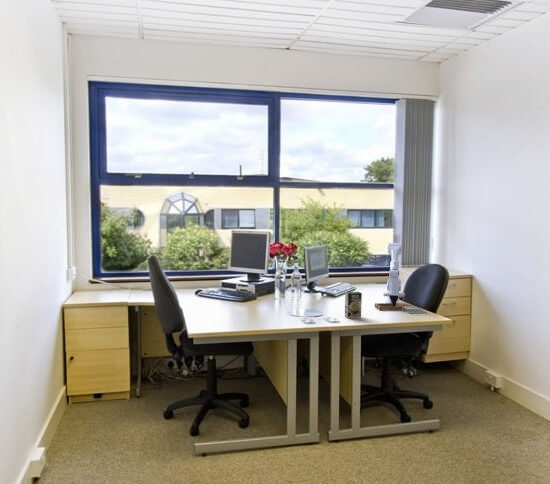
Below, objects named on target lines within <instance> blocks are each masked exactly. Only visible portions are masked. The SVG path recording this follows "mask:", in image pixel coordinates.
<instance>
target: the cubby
mask: <svg viewBox="0 0 550 484" xmlns="http://www.w3.org/2000/svg"><path fill="white" fill-rule="evenodd" d="M374 308H376V309H377V310H379V311H380V312H382V311H381V310H390V311H403V309H402V306H392V303H387V302H383V303H382V302H380V303H375V302H374Z"/></svg>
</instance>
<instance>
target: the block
mask: <svg viewBox="0 0 550 484" xmlns="http://www.w3.org/2000/svg"><path fill="white" fill-rule="evenodd" d="M395 306H402V310H403V309H405V303H404V302H402V301H399V302H396V304H395Z"/></svg>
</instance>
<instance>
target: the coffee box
mask: <svg viewBox="0 0 550 484" xmlns="http://www.w3.org/2000/svg"><path fill="white" fill-rule="evenodd" d="M344 293H345V296H344V297H345V298H344V317H345V318H346V319H348V320H349V319H362V305H363V304H362V301H363V300H362V299H363V297H362V295H363V293H362V292H360V291H345V292H344Z"/></svg>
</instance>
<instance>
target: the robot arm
mask: <svg viewBox="0 0 550 484" xmlns="http://www.w3.org/2000/svg"><path fill="white" fill-rule="evenodd" d="M402 248H403V244H402V242H388V243H387V253H388V255H390V257H391V261H390V264H389V265H390V266H389V278H387V280H386V281H387V283H386V290H387V292H384V293H382V296H383V297H386V301H385V303H392V306H395V304H396V302H400V301H399V299H400V297H405V293H404V292H401V290H402V280H401V279H399V278H400V263H399V261H398V258H399V256H400V255H402V250H403V249H402Z"/></svg>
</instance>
